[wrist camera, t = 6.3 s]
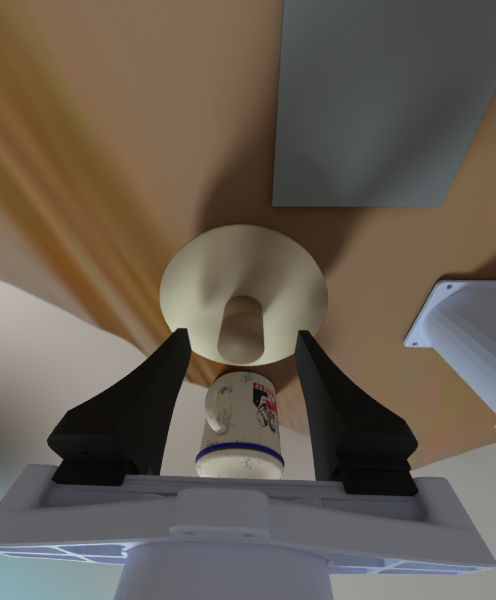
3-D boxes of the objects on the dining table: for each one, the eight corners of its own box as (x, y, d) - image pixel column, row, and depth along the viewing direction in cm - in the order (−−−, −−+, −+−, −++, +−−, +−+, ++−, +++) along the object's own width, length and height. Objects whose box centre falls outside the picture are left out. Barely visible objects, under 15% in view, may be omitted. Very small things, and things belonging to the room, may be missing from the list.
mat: (572, -99, 9) (590, -114, 9) (434, 205, 16) (440, 207, 15) (288, -92, 9) (290, -106, 9) (271, 205, 16) (272, 206, 15)
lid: (348, 232, 13) (385, 262, 9) (304, 363, 20) (316, 410, 16) (150, 216, 13) (108, 239, 9) (173, 354, 19) (155, 399, 16)
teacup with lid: (285, 400, 30) (301, 516, 20) (228, 413, 32) (217, 523, 23) (252, 344, 24) (251, 470, 14) (184, 365, 26) (144, 485, 17)
